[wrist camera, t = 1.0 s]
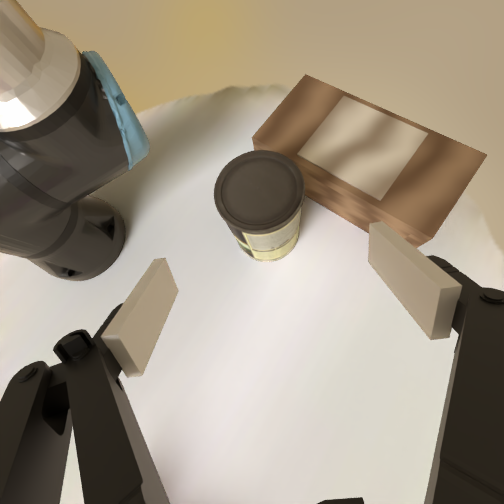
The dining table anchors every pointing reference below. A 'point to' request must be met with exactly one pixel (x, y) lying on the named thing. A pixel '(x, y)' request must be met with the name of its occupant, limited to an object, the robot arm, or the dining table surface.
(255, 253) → the coffee can
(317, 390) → the dining table surface
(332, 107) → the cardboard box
